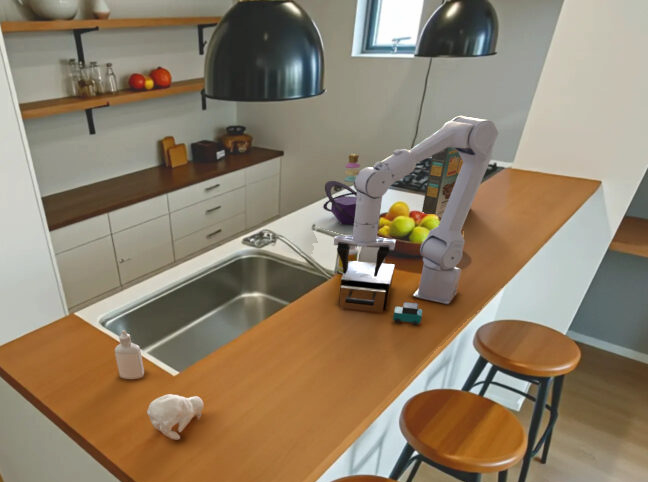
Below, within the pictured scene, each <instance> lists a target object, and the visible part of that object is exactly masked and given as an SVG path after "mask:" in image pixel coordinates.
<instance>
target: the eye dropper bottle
mask: <svg viewBox="0 0 648 482" xmlns="http://www.w3.org/2000/svg"><path fill="white" fill-rule="evenodd" d="M118 339H119V344H118V345H116V346H115V348H114V355H115V360H116V361H115V362H116V364H117V370H118V375H119V377H120V378H121V379H125V380H139V379H142V378H143V377H144V374H145V367H144V361H143V357H142V351H141V347H140V346H139V345H138V344H136V343H133V342H132V338H131V334H130V333H127V331H126V330H125V329H122V330H121V334H120V335H119V336H118Z"/></svg>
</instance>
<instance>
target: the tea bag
mask: <svg viewBox="0 0 648 482" xmlns="http://www.w3.org/2000/svg"><path fill="white" fill-rule="evenodd" d="M360 248H361V249H360V251H359V252H358V257H357V261H358V262H370V263H376V261H377V252H378V249H379V248H375V247H360ZM385 262H386V258H385V259H384V260H383V262H382V264H386V263H385Z"/></svg>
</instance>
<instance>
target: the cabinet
mask: <svg viewBox="0 0 648 482" xmlns="http://www.w3.org/2000/svg"><path fill="white" fill-rule="evenodd" d="M395 267H396V264H392V263H384V264H381V266H380V268H379V271H378V275H377V277H375V276H374V272H375V268H376V263H370V262H358V260H357V261H349V263H348V270H347V272H346V273H344V274H342V276H341V278H340V287H339V292H340V291H341V286H345V283H346V282H349V283H359V284H369V285H379V286H386V293H385V300H384V306H383V311H386V310H387V306H388V304H389V303H388V302H389V299H390V295H391V294H390V293H391V291H392V284H393V278H394V272H395ZM339 302H340V295H339V297H338V303H339Z"/></svg>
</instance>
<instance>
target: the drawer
mask: <svg viewBox="0 0 648 482" xmlns="http://www.w3.org/2000/svg"><path fill="white" fill-rule="evenodd" d="M385 293H386V286H379V285H369V284H359V283H349V282H346V283H345V286H341V291H340V290H339V296H340V302H339V301H338V305H339V306H338V308H341V309H350V310H358V311H366V312H376V313H383V311H384V310H383V306H384V300H385Z"/></svg>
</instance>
